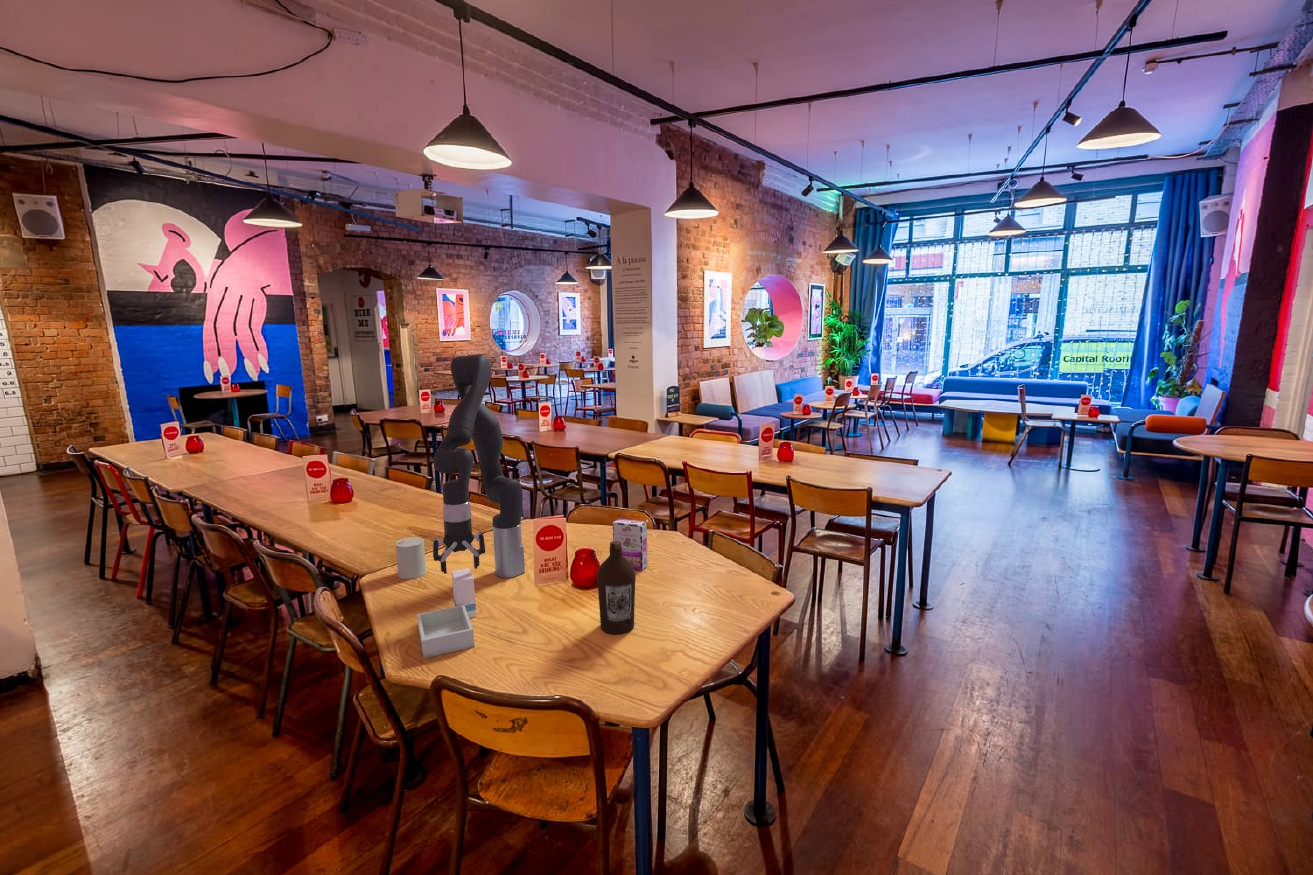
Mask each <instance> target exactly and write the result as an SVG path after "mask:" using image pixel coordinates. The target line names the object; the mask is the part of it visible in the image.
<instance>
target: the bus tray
mask: <svg viewBox="0 0 1313 875" xmlns="http://www.w3.org/2000/svg"><path fill="white" fill-rule="evenodd" d="M416 617H417V628H418V634H419V641H420V646H421V651H422V657H423V660H424V659H429V658H432V657H436V656H441V655H445V654H450V653H454V652H458V651H463V650H467V649H473V648H475V638H474V637H475V636H474V635H475V634H474V628H473V625H472V622H471V620H470V619H471V618H469V616H468V614H467V611H466V608H465V605H460V606H455V607H454V606H451V607H447V608H442V609H441V608H440V609H436V610H431V611H427V612H426V611H425V612H420V613H417V614H416Z"/></svg>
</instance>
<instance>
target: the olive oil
mask: <svg viewBox="0 0 1313 875" xmlns="http://www.w3.org/2000/svg"><path fill="white" fill-rule="evenodd" d="M596 574H597V575H596V583H597V591H598V592H597V593H598V607H599V619H600V620H599V621H600V622H599V623H600V624H599V625H600V630H601V631H602V632H603V633H605V634H607V635H611V636H622V635H626V634H629V633H630V632H632V631H633V630H634V628H635V600H636V580H637V579H636V578H637V577H636V570H634V567H633V566H632V564H631V563H630V562H629V561H628V560H627V559H626V558H625V557H623V555H622V546H621V542H620V541H613V540H612V541H610V542H609V555H608V557H606V558H605V560H604V561H603V562H602V563H601V564H600V566H599V567H598V569H597V573H596Z"/></svg>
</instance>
